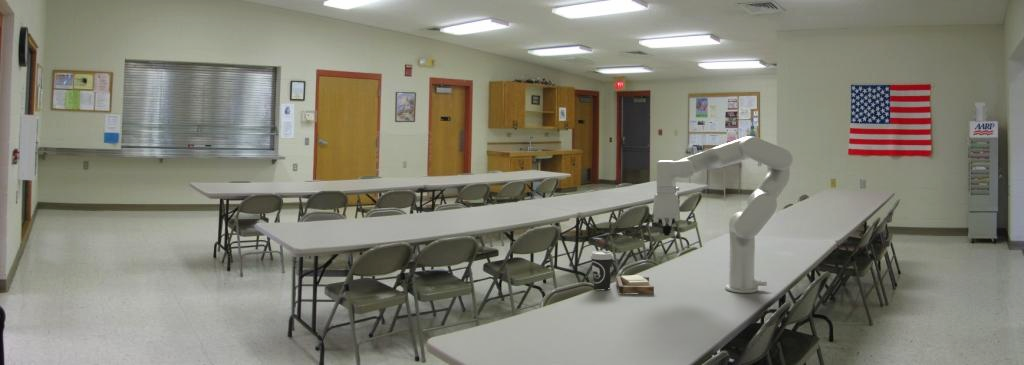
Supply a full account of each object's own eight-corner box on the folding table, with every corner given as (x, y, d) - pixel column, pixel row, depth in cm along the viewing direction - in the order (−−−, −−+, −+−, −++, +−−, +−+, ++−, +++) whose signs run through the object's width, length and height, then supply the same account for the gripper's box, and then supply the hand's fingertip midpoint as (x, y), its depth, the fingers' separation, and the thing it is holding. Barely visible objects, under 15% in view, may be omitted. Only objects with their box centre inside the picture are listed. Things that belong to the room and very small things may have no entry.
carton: (639, 285, 276) (639, 274, 276) (649, 292, 264) (649, 281, 264) (620, 286, 275) (620, 275, 275) (629, 293, 263) (629, 282, 263)
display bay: (648, 283, 278) (648, 276, 278) (653, 294, 260) (653, 286, 260) (616, 283, 279) (616, 276, 279) (619, 294, 261) (619, 286, 261)
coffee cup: (613, 291, 265) (613, 254, 264) (589, 290, 267) (589, 254, 266) (614, 286, 274) (614, 250, 273) (591, 285, 276) (591, 250, 275)
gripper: (682, 189, 271) (683, 233, 272) (646, 190, 272) (646, 234, 273) (686, 191, 263) (687, 236, 265) (649, 191, 264) (649, 237, 266)
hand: (666, 235), depth 269 cm, fingers closed
